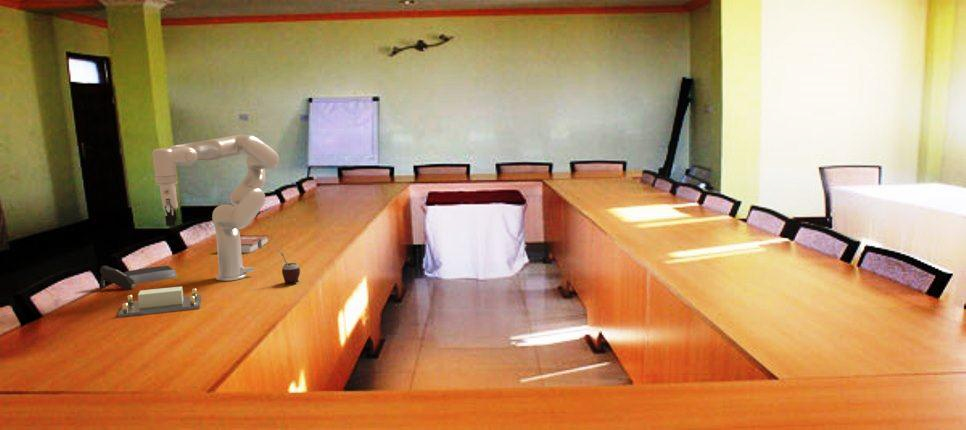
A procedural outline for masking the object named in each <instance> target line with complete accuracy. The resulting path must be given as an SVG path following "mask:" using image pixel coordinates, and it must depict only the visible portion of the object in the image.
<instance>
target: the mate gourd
mask: <svg viewBox="0 0 966 430" xmlns="http://www.w3.org/2000/svg"><path fill="white" fill-rule="evenodd" d="M275 250H276V251H278V252H279V253H280V254H281V256H282V259H283V260H284V263H285V264H283V266H282V269H281V273H282V274H281V275H282V277H283V279H284V285H291V284H292V285H295V286H296V285H297V283H299V277H300V275H301V270H300V265H298V263H296V262H287V259H286V257H285V253H284V252H282V251H281V250H280V249H278V248H275Z"/></svg>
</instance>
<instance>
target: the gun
mask: <svg viewBox="0 0 966 430" xmlns="http://www.w3.org/2000/svg"><path fill="white" fill-rule="evenodd" d="M99 273H100V274H101V275H100V280H99V281H100V283H99V284H100V287H101V288H102V289H105V288H106V282H108V283H109V284H112V283H113V284H114V285H116V286H117V287H120V288H121V289H123V290H126V291H127V290H132V289H135V288H136V284H134V280H132V279H131V278H130V277H128V276H127V275H125V274H124V272H122V271H121V270H118V269H116V268H113V267H110V266H108V265H102V266H100V269H99Z"/></svg>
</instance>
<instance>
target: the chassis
mask: <svg viewBox="0 0 966 430" xmlns="http://www.w3.org/2000/svg"><path fill="white" fill-rule="evenodd" d="M191 293H192V295H183V303H182V304H175V305H166V306H157V307H148V308H139V301H138V300H134V298H133V294H128V295H127V301H125V302H124V303H122V304H121V305H122V307H121V308H120V310H119V311H118V313H117V318H124V317H126V318H128V317H134V316H135V317H136V316H144V315H151V314H152V315H153V314H163V313H173V312H182V311H187V310H188V311H189V310H190V311H191V310H198V309H200V308H201V303H202V299H203V298H202V297H203V296H202V294H198V291H197V287H196V288H195V287H194V288H192V289H191Z"/></svg>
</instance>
